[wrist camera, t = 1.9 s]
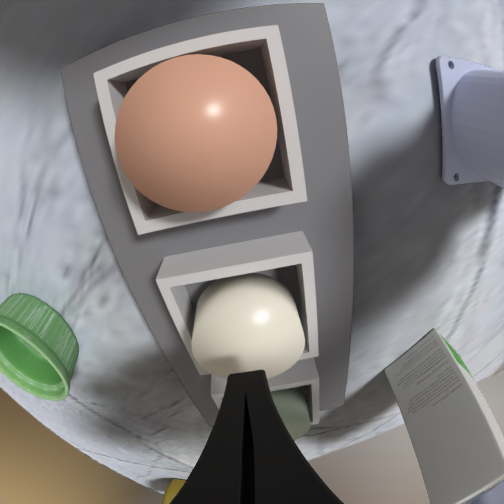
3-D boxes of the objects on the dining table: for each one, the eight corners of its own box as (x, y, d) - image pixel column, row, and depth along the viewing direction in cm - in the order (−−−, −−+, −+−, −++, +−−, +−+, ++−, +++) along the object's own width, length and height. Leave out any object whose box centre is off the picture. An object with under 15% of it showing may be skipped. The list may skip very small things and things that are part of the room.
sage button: (303, 378, 17) (310, 408, 15) (306, 412, 20) (311, 438, 18) (227, 390, 18) (228, 421, 16) (243, 422, 20) (244, 448, 18)
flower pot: (162, 473, 35) (159, 518, 28) (214, 479, 37) (215, 524, 29) (162, 483, 39) (159, 522, 31) (207, 489, 41) (207, 527, 33)
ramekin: (34, 362, 21) (19, 394, 17) (-12, 289, 17) (-37, 320, 13) (102, 366, 21) (88, 407, 17) (53, 280, 17) (23, 321, 13)
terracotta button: (255, 53, 9) (261, 40, 7) (277, 177, 11) (288, 195, 9) (126, 86, 9) (99, 83, 7) (156, 202, 11) (139, 226, 9)
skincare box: (457, 352, 24) (518, 463, 10) (412, 389, 26) (458, 503, 12) (433, 324, 21) (515, 471, 7) (377, 371, 23) (432, 520, 9)
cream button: (290, 263, 13) (300, 295, 11) (299, 338, 16) (307, 372, 13) (183, 282, 13) (175, 316, 11) (211, 353, 16) (209, 387, 14)
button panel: (312, 14, 10) (338, -12, 7) (338, 388, 24) (349, 423, 20) (80, 70, 11) (36, 66, 7) (210, 409, 24) (209, 445, 21)
